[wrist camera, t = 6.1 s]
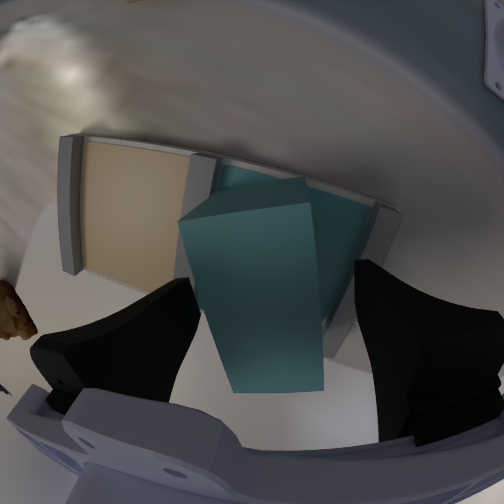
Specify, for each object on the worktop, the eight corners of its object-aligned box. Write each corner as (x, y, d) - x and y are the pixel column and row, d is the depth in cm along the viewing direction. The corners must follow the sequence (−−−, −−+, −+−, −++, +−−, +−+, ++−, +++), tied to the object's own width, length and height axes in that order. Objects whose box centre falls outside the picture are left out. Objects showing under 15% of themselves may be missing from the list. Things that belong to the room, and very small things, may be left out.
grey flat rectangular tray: (394, 205, 13) (408, 217, 11) (335, 337, 17) (337, 359, 15) (78, 133, 14) (56, 136, 12) (77, 257, 17) (60, 269, 16)
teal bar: (304, 176, 12) (310, 202, 7) (320, 320, 15) (324, 390, 10) (219, 189, 13) (177, 221, 8) (250, 326, 16) (233, 392, 11)
